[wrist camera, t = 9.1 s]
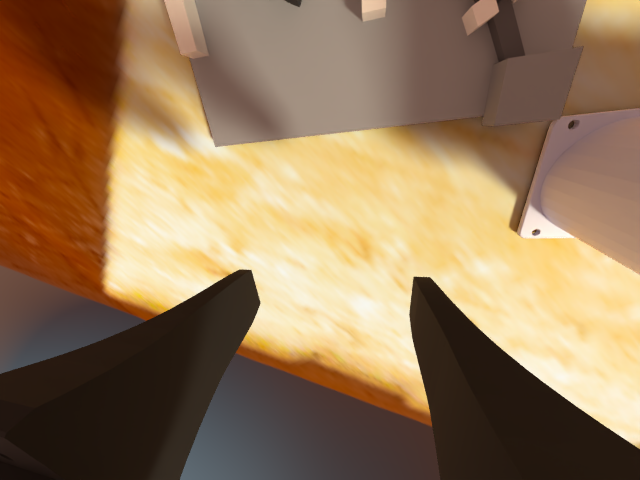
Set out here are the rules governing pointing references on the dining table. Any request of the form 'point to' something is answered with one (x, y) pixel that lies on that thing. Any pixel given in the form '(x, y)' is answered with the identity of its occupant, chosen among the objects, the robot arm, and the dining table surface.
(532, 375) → the robot arm
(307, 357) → the dining table surface
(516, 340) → the dining table surface
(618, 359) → the dining table surface
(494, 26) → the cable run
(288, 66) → the mat
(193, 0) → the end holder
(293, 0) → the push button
